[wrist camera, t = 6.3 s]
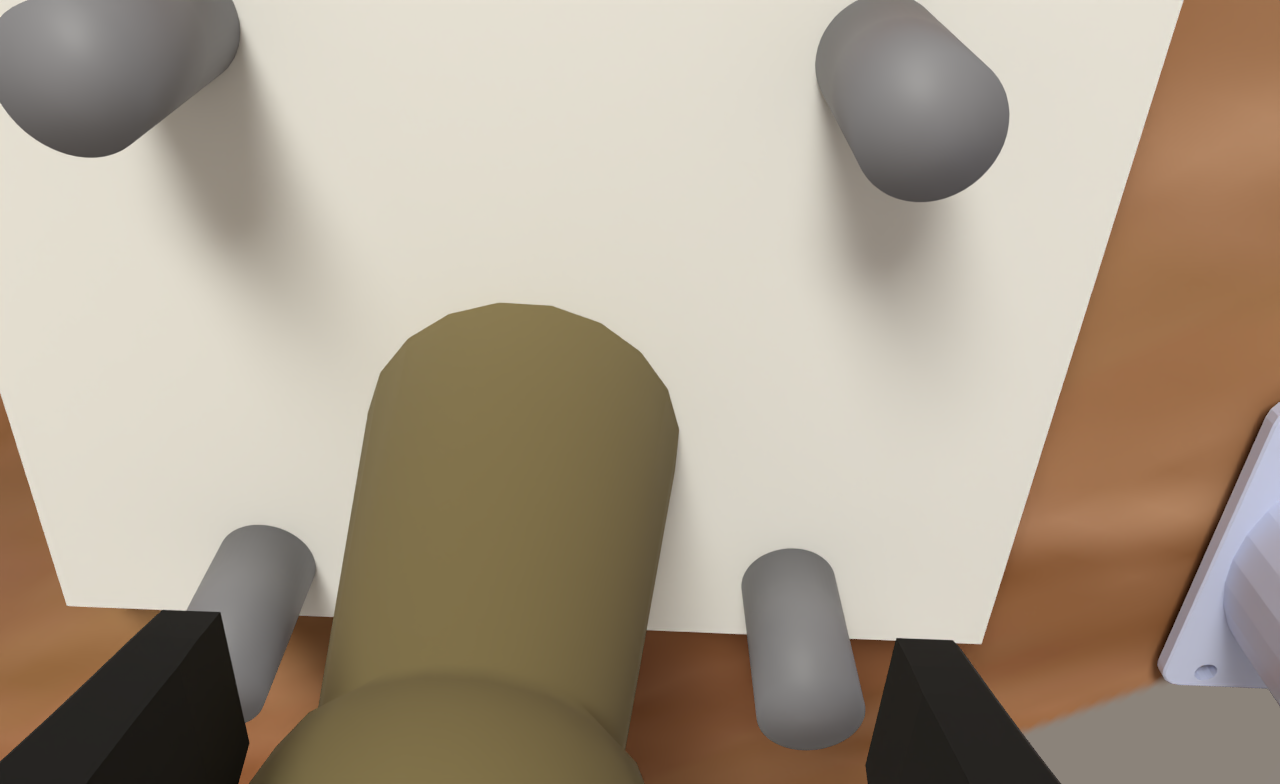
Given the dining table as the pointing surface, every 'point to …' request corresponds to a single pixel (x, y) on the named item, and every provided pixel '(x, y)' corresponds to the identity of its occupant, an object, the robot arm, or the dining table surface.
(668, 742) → the dining table surface
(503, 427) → the olive rounded cylinder
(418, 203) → the peg board
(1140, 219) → the dining table surface
